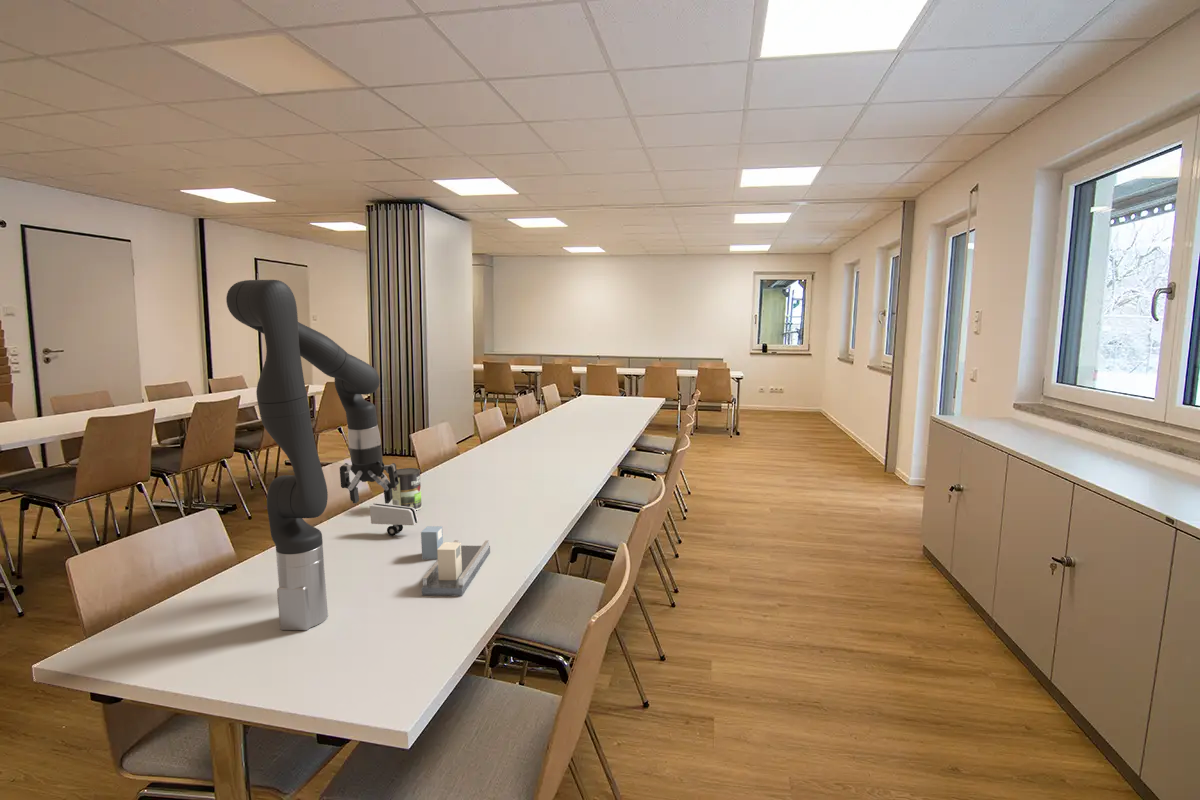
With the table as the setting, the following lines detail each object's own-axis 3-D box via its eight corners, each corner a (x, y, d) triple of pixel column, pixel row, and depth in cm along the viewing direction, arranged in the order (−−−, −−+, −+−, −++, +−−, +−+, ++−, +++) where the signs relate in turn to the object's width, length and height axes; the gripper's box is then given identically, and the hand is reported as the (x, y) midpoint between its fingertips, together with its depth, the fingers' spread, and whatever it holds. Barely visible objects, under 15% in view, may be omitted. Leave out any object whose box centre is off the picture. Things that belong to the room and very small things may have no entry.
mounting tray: (462, 596, 142) (461, 580, 141) (421, 595, 142) (421, 579, 142) (490, 552, 169) (489, 539, 169) (456, 552, 170) (456, 538, 169)
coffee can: (426, 504, 217) (425, 468, 215) (413, 513, 206) (411, 474, 205) (401, 504, 218) (399, 467, 216) (387, 512, 208) (384, 474, 206)
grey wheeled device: (371, 535, 185) (414, 537, 182) (368, 505, 184) (412, 507, 181) (378, 530, 189) (420, 532, 186) (375, 501, 188) (418, 503, 185)
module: (437, 559, 165) (436, 532, 164) (422, 559, 165) (420, 532, 164) (443, 552, 170) (442, 526, 169) (428, 552, 170) (427, 526, 169)
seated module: (456, 580, 146) (455, 549, 145) (438, 580, 146) (437, 549, 145) (462, 572, 151) (461, 542, 150) (444, 571, 151) (443, 542, 150)
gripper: (330, 448, 144) (338, 508, 148) (386, 447, 143) (393, 508, 147) (344, 438, 151) (352, 496, 155) (398, 438, 150) (404, 496, 154)
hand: (372, 502), depth 151 cm, fingers open, 8 cm apart
